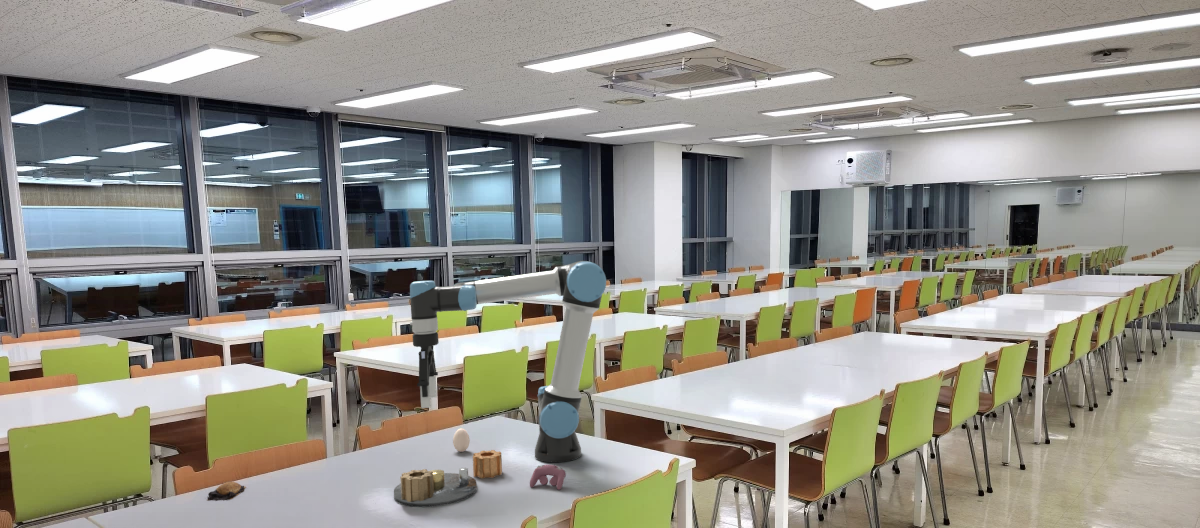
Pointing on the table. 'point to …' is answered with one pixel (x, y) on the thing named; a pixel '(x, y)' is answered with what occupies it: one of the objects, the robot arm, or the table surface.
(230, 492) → the brown and black mound
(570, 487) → the table surface
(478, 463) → the planet gear
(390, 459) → the table surface
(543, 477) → the video game controller
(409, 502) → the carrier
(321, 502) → the table surface
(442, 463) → the table surface
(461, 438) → the egg
